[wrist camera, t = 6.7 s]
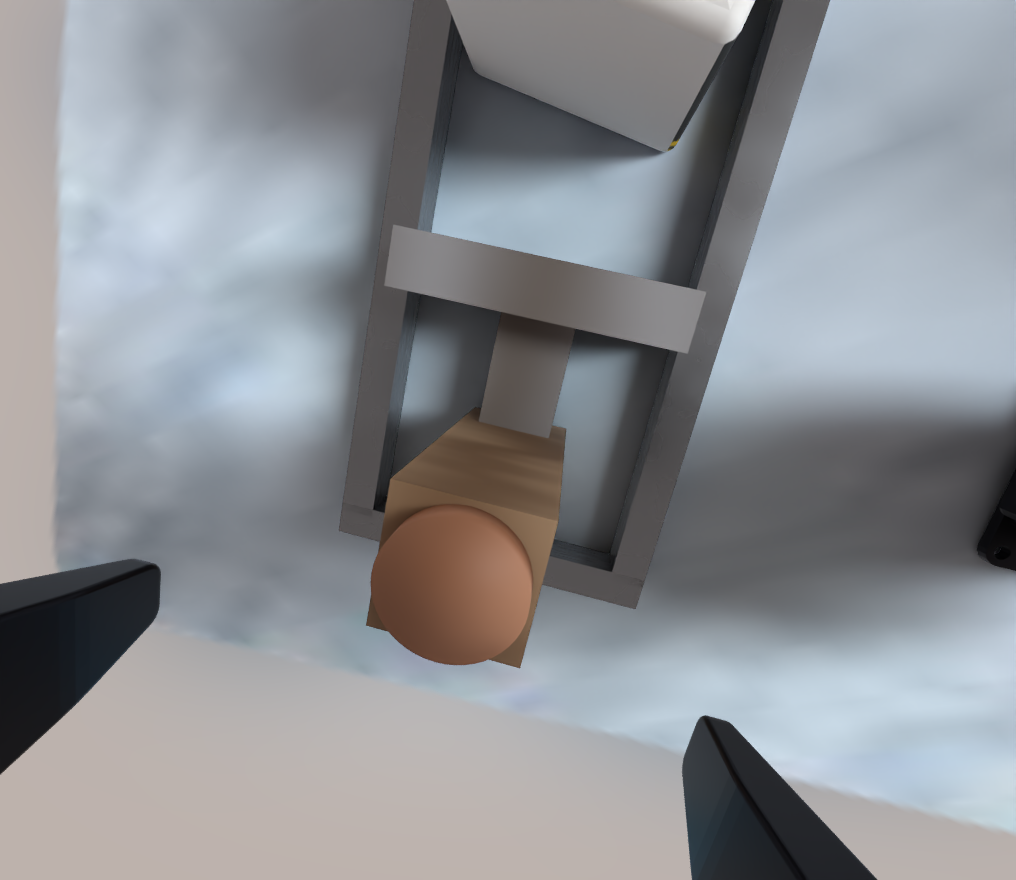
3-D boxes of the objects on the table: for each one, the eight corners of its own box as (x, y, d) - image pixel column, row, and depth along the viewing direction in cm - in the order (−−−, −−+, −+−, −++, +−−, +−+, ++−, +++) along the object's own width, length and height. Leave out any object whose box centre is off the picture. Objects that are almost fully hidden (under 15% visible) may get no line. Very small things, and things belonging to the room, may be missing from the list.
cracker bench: (887, -231, 14) (1197, -778, 7) (631, 588, 20) (659, 724, 13) (475, -287, 14) (388, -821, 8) (355, 516, 21) (249, 609, 14)
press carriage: (673, 299, 17) (791, 271, 8) (606, 530, 19) (635, 725, 10) (437, 248, 18) (284, 165, 8) (398, 477, 20) (242, 614, 11)
